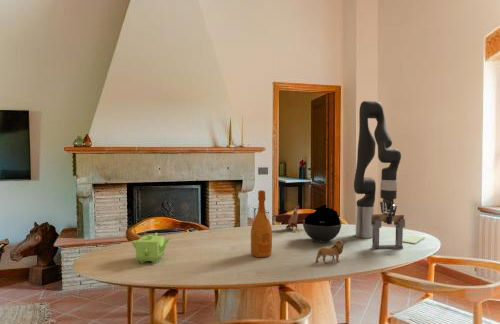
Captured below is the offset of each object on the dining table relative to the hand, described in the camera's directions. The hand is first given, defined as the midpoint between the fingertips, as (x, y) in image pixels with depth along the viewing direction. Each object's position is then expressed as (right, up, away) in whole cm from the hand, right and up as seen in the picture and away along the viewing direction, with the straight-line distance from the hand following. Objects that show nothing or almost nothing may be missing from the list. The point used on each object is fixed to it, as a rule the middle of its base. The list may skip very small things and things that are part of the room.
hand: (387, 223), depth 184 cm
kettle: (-112, -13, -22) cm, 114 cm away
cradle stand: (0, -12, 0) cm, 12 cm away
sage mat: (+20, -12, +17) cm, 29 cm away
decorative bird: (-42, -11, +38) cm, 58 cm away
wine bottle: (-63, -13, -13) cm, 66 cm away
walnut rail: (0, +1, 0) cm, 1 cm away
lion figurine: (-33, -13, -22) cm, 42 cm away
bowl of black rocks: (-30, -12, +13) cm, 35 cm away
